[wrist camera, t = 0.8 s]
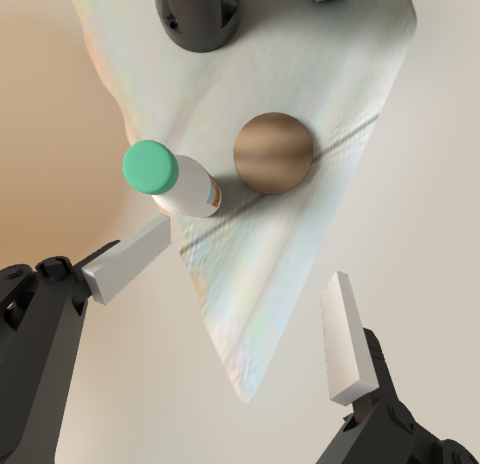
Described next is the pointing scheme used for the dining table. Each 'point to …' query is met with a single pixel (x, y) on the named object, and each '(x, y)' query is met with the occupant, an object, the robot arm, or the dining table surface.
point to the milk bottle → (171, 179)
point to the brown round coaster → (273, 153)
